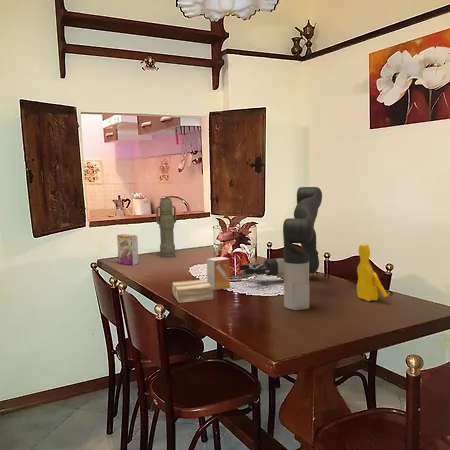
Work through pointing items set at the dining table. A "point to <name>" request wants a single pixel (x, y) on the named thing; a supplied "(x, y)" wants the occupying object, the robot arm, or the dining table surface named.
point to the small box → (218, 272)
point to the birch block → (192, 290)
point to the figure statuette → (367, 277)
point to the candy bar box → (127, 249)
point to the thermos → (166, 227)
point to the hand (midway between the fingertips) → (242, 269)
